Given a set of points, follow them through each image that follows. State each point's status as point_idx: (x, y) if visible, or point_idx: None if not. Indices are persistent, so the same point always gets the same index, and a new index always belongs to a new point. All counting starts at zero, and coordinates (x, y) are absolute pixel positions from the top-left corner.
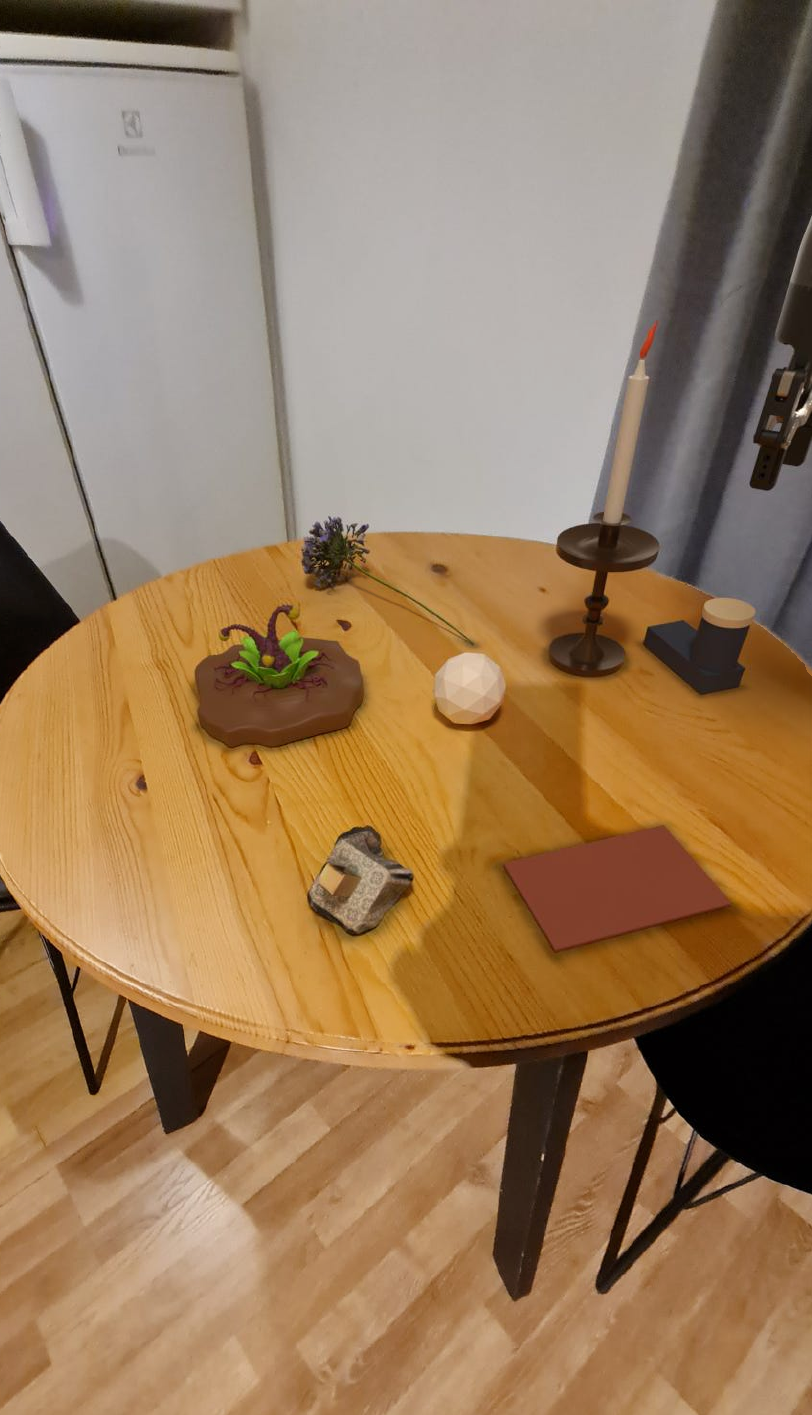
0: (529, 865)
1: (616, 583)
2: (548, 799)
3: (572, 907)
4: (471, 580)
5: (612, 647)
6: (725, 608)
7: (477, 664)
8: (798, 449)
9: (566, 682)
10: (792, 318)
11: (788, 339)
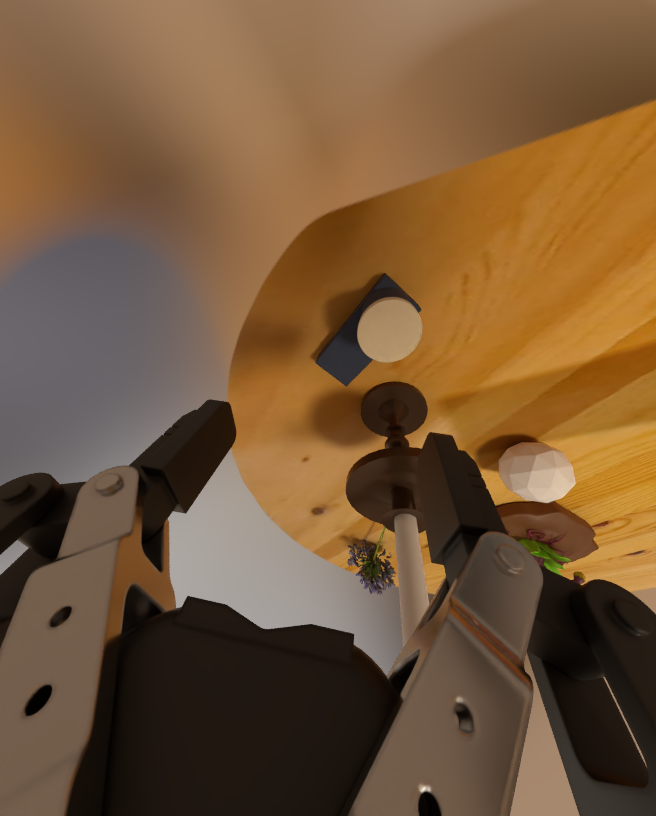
0: None
1: (259, 422)
2: (650, 369)
3: None
4: (320, 494)
5: (374, 397)
6: (390, 337)
7: (558, 489)
8: (211, 438)
9: (440, 410)
10: None
11: None
